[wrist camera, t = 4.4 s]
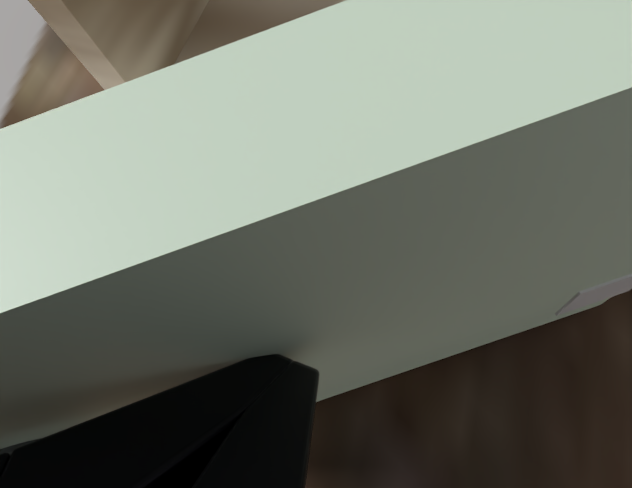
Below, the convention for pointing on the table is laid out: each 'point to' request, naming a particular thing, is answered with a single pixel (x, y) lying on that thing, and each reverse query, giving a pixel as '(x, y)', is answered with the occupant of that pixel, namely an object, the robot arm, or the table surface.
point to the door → (317, 203)
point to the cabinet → (159, 30)
